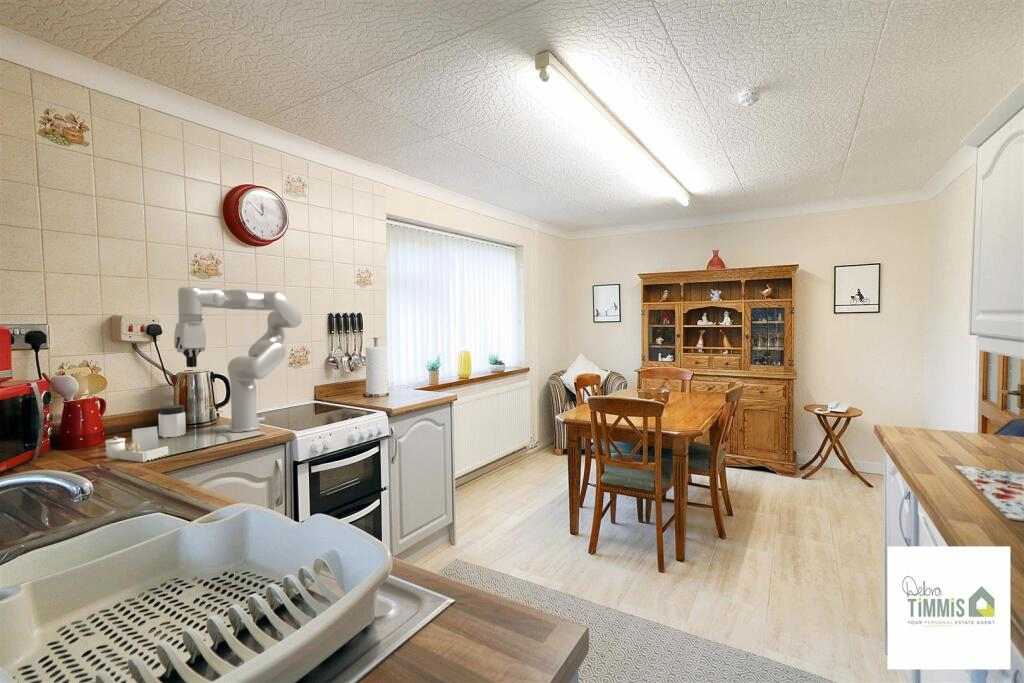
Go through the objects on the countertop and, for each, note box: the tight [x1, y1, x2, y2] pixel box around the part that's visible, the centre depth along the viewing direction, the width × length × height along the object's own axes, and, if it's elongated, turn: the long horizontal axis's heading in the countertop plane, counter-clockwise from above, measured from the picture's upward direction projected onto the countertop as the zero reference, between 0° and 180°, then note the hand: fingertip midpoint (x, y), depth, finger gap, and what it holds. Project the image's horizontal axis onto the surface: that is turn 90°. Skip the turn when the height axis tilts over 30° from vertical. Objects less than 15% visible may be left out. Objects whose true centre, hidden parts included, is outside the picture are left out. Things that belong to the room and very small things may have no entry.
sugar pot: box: [104, 436, 126, 459], centre depth 163 cm, size 5×5×7 cm
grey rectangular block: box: [131, 425, 159, 452], centre depth 162 cm, size 4×7×10 cm, turn 136°
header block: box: [118, 442, 169, 463], centre depth 161 cm, size 8×11×5 cm
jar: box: [158, 404, 187, 438], centre depth 191 cm, size 9×8×12 cm
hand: (191, 366), depth 182 cm, fingers closed
